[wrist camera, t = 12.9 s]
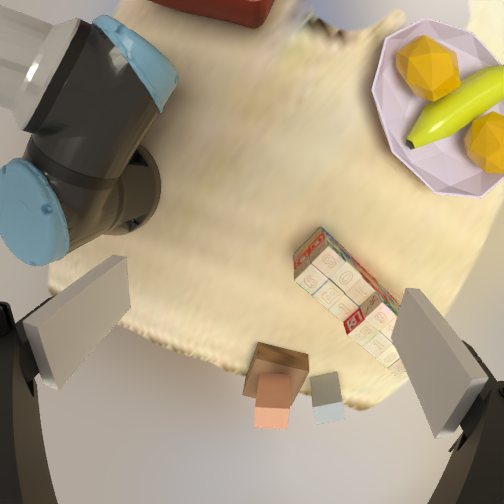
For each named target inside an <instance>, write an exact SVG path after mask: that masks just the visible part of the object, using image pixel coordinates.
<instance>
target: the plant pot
mask: <svg viewBox="0 0 504 504" xmlns="http://www.w3.org/2000/svg"><path fill="white" fill-rule="evenodd" d="M149 1H151V2H154V3H157V4H160V5H162V6H166V7H169V8H172V9H175V10H179V11H183V12H187V13H191V14H197V15H202V16H207V17H212V18H216V19H220V20H225V21H229V22H233V23H237V24H241V25H244V26H248V27H251V28H257V27H259V26H261V25H262V24H263V23H264V21H265V19H266V17H267V15H268V13H269V11H270V9H271V7H272V5H273V2H274V0H149Z"/></svg>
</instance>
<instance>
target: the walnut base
mask: <svg viewBox="0 0 504 504" xmlns="http://www.w3.org/2000/svg"><path fill="white" fill-rule="evenodd" d="M260 373H272V374H290V406H291V405H292V404H293V402H294V400H295V398H296V396H297V394H298V392H299V391H300V389H301V387H302V385H303V383H304V381H305V379H306V377H307V375H308V373H309V361H308V354H304V353H300V352H296V351H292V350H288V349H284V348H280V347H276V346H272V345H268V344H264V343H261V342H258V345H257V348H256V351H255V353H254V356H253V359H252V362H251V365H250V367H249V370H248V373H247V375H246V378H245V384H244V390H243V395H244V396H248V397H252V398H256V396H257V389H258V381H259V374H260Z"/></svg>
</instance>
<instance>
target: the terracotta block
mask: <svg viewBox="0 0 504 504" xmlns="http://www.w3.org/2000/svg"><path fill="white" fill-rule="evenodd" d="M289 411H290V374H272V373H260V374H259V381H258V389H257V396H256V404H255V424H254V425H255V428H270V429H271V428H272V429H287V425H288V417H289Z"/></svg>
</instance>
